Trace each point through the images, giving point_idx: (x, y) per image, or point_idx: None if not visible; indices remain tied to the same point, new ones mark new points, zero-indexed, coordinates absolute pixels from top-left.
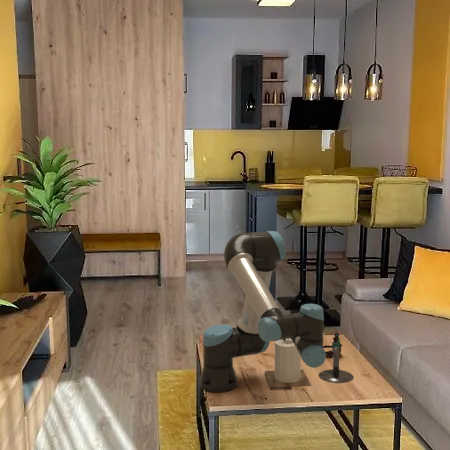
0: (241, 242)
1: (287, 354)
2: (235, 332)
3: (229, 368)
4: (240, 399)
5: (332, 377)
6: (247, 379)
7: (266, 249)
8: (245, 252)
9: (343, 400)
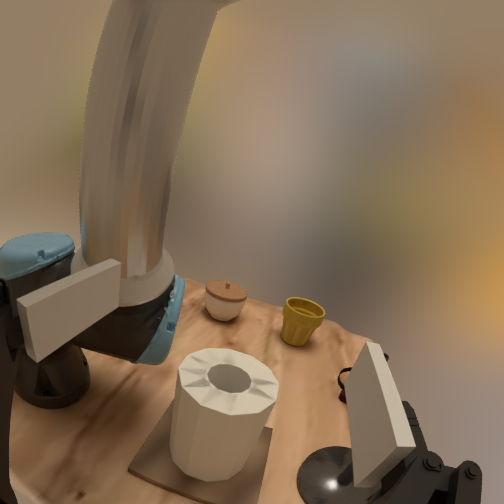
0: None
1: (200, 427)
2: (62, 269)
3: (40, 361)
4: (24, 450)
5: (333, 485)
6: (117, 398)
7: None
8: None
9: None
